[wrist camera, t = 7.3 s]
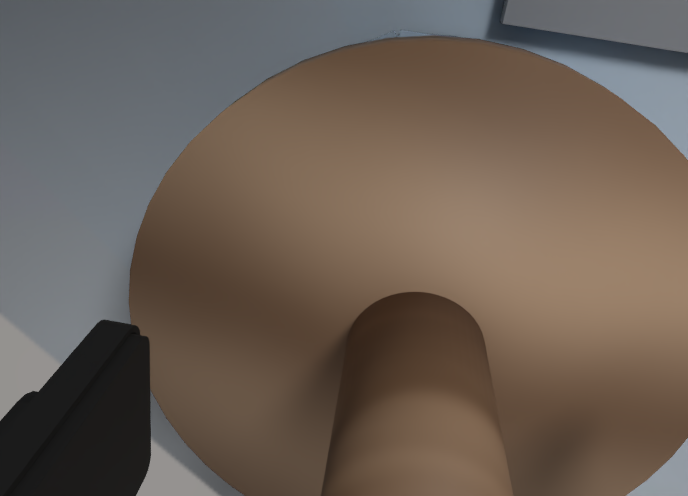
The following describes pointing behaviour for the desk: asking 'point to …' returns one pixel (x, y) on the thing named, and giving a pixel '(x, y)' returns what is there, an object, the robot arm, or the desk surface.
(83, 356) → the robot arm
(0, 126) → the desk surface
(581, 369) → the lid
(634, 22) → the mat
